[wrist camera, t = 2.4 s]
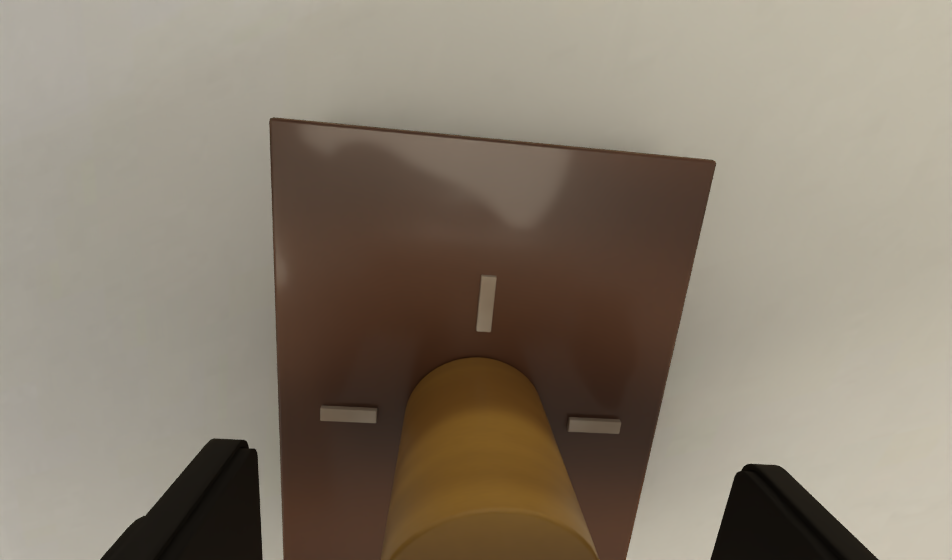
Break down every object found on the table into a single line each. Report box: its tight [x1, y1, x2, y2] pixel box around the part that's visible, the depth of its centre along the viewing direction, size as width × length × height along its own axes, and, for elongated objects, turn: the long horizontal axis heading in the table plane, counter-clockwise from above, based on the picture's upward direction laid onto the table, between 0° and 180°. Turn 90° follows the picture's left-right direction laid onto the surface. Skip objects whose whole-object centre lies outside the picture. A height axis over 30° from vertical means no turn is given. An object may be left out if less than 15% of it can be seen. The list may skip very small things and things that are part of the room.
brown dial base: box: [269, 117, 716, 560], centre depth 13 cm, size 14×10×3 cm
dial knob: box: [381, 357, 600, 560], centre depth 9 cm, size 4×4×5 cm
